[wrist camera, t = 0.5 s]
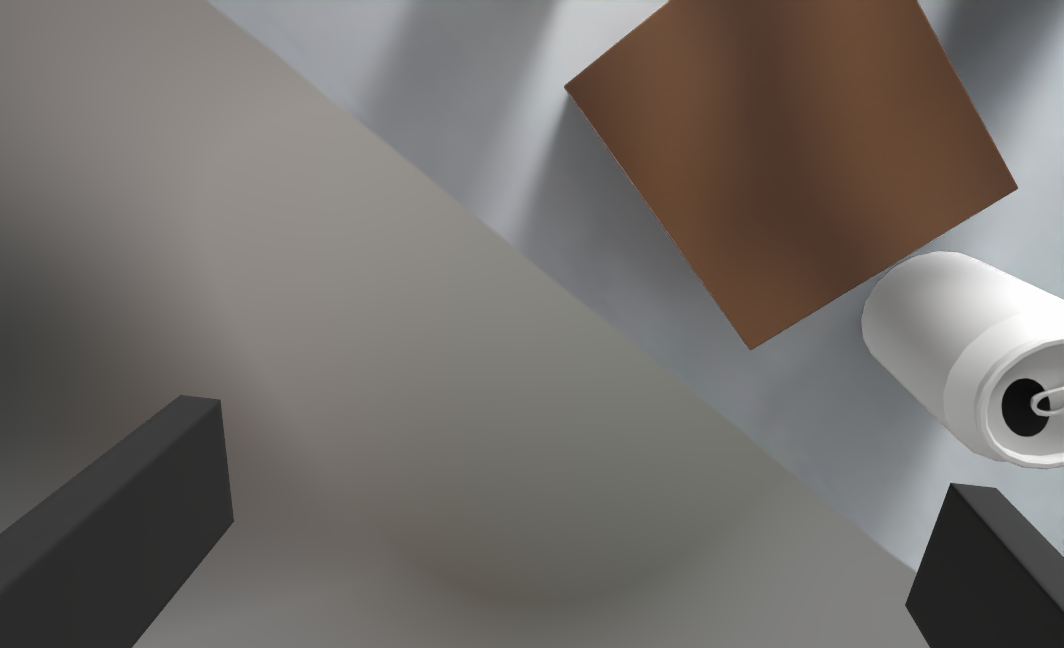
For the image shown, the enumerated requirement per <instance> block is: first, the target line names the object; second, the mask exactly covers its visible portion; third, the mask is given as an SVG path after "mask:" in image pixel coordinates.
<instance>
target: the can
mask: <svg viewBox="0 0 1064 648" xmlns="http://www.w3.org/2000/svg"><path fill="white" fill-rule="evenodd" d="M861 324H862V333H863V339H864V341H865V343H866V345H867V347H868V349H869V350H870V352H871V354H872V355H873V356H874V357H875V358H876V359H877V360H878V361H879V362H880V363H881V364H882V365H883V366H884V367H885V368H886V369H887V370H888V371H889V372H890V373H891V374H892V375H893V376H894V377H895V378H896V379H897V380H898V381H899V382H900V383H901V384H902V385H903V386H904V387H905V388H906V389H907V390H908V391H909V392H910V393H911V394H912V395H913V396H914V397H915V398H916V399H917V400H918V401H919V402H920V403H921V404H922V405H923V406H924V407H925V408H926V409H927V410H928V411H929V412H930V413H931V414H932V415H933V416H934V417H935V418H936V419H937V420H938V421H939V422H940V423H941V424H942V425H943V426H944V427H945V428H946V429H947V430H948V431H949V432H950V433H951V434H952V435H953V436H954V437H956V438H957V439H958V440H959V441H960V442H961V443H963V444H964V445H965V446H966V447H967V448H969V449H970V450H971V451H972V452H974V453H976V454H979V455H982V456H984V457H987V458H990V459H992V460H995V461H1002V462H1010V463H1012V464H1015V465H1018V466H1020V467H1025V468H1038V469H1050V468H1056V467H1062V466H1064V300H1062V299H1060V298H1058V297H1056V296H1054V295H1052V294H1050V293H1047V292H1045V291H1043V290H1041V289H1039V288H1037V287H1035V286H1032V285H1030V284H1028V283H1026V282H1024V281H1022V280H1020V279H1018V278H1015V277H1013V276H1011V275H1009V274H1007V273H1005V272H1003V271H1000V270H998V269H996V268H994V267H992V266H990V265H988V264H985V263H983V262H981V261H979V260H977V259H974V258H972V257H969V256H966V255H964V254H961V253H958V252H941V251H936V252H931V253H927V254H923V255H918V256H914V257H912V258H910V259H908V260H906V261H904V262H903V263H901V264H899V265H897V266H895V267H893V268H892V269H891V270H890V271H889V272H888V273H887V274H886V275H885V276H884V277H882V278H881V279H880V280H879V281H878V282H877V283H876V285H875V286H874V288H873V290H872V291H871V293H870V295H869V296H868V298H867V300H866V301H865V306H864V310H863V314H862V319H861Z"/></svg>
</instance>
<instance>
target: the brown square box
mask: <svg viewBox="0 0 1064 648" xmlns="http://www.w3.org/2000/svg"><path fill="white" fill-rule="evenodd" d="M564 88H565V90H566V91H567V93H568V94H569V95H570V97H571V98H572V100H573V101H574V102H575V104H576V105H577V107H578V108H579V109H580V111H581V112H582V114H583V115H584V117H585V118H586V119H587V121H588V122H589V124H590V125H591V126H592V128H593V129H594V131H595V132H596V134H597V135H598V136H599V138H600V139H601V141H602V142H603V143H604V145H605V146H606V148H607V149H608V150H609V152H610V153H611V155H612V156H613V158H614V159H615V160H616V162H617V163H618V165H619V166H620V167H621V169H622V170H623V172H624V173H625V174H626V176H627V177H628V179H629V180H630V182H631V183H632V184H633V186H634V187H635V189H636V190H637V191H638V193H639V194H640V196H641V197H642V199H643V200H644V201H645V203H646V204H647V206H648V207H649V208H650V210H651V211H652V213H653V214H654V215H655V217H656V218H657V220H658V221H659V223H660V224H661V225H662V227H663V228H664V230H665V231H666V232H667V234H668V235H669V237H670V238H671V239H672V241H673V242H674V244H675V245H676V247H677V248H678V249H679V251H680V252H681V254H682V255H683V256H684V258H685V259H686V261H687V262H688V264H689V265H690V266H691V268H692V269H693V271H694V272H695V273H696V275H697V276H698V278H699V279H700V280H701V282H702V283H703V285H704V286H705V288H706V289H707V290H708V292H709V293H710V295H711V296H712V297H713V299H714V300H715V302H716V303H717V304H718V306H719V307H720V309H721V310H722V312H723V313H724V314H725V316H726V317H727V319H728V320H729V321H730V323H731V324H732V326H733V327H734V329H735V330H736V331H737V333H738V334H739V336H740V337H741V338H742V340H743V341H744V343H745V344H746V345H747V347H748V348H749V349H750V350H752V349H754V348H755V347H757V346H759V345H760V344H762V343H764V342H765V341H767V340H769V339H770V338H772V337H774V336H775V335H777V334H779V333H780V332H782V331H783V330H785V329H787V328H788V327H790V326H792V325H793V324H795V323H797V322H798V321H800V320H802V319H803V318H805V317H807V316H808V315H810V314H812V313H813V312H815V311H817V310H818V309H820V308H821V307H823V306H825V305H826V304H828V303H830V302H831V301H833V300H835V299H836V298H838V297H840V296H841V295H843V294H845V293H846V292H848V291H850V290H851V289H853V288H855V287H856V286H858V285H859V284H861V283H863V282H864V281H866V280H868V279H869V278H871V277H873V276H874V275H876V274H878V273H879V272H881V271H883V270H884V269H886V268H888V267H889V266H891V265H893V264H894V263H896V262H897V261H899V260H901V259H902V258H904V257H906V256H907V255H909V254H911V253H912V252H914V251H916V250H917V249H919V248H921V247H922V246H924V245H926V244H927V243H929V242H931V241H932V240H934V239H935V238H937V237H939V236H940V235H942V234H944V233H945V232H947V231H949V230H950V229H952V228H954V227H955V226H957V225H959V224H960V223H962V222H964V221H965V220H967V219H969V218H970V217H972V216H974V215H975V214H977V213H978V212H980V211H982V210H983V209H985V208H987V207H988V206H990V205H992V204H993V203H995V202H997V201H998V200H1000V199H1002V198H1003V197H1005V196H1007V195H1008V194H1010V193H1012V192H1013V191H1015V190H1016V189H1018V186H1017V184H1016V183H1015V181H1014V179H1013V177H1012V175H1011V173H1010V172H1009V170H1008V168H1007V166H1006V164H1005V162H1004V160H1003V159H1002V157H1001V155H1000V153H999V151H998V149H997V147H996V146H995V144H994V142H993V140H992V138H991V136H990V134H989V133H988V131H987V129H986V127H985V125H984V123H983V122H982V120H981V118H980V116H979V114H978V112H977V110H976V109H975V107H974V105H973V103H972V101H971V99H970V97H969V96H968V94H967V92H966V90H965V88H964V86H963V84H962V83H961V81H960V79H959V77H958V75H957V73H956V72H955V70H954V68H953V66H952V64H951V62H950V60H949V59H948V57H947V55H946V53H945V51H944V49H943V47H942V46H941V44H940V42H939V40H938V38H937V36H936V34H935V33H934V31H933V29H932V27H931V25H930V23H929V21H928V20H927V18H926V16H925V14H924V12H923V10H922V9H921V7H920V5H919V3H918V1H917V0H669V1H668V2H667V3H666V4H665V5H663V6H662V7H661V8H660V9H658V10H657V11H656V12H655V13H653V14H652V15H651V16H650V17H649V18H647V19H646V20H645V21H644V22H642V23H641V24H640V25H639V26H637V27H636V28H635V29H634V30H632V31H631V32H630V33H629V34H628V35H626V36H625V37H624V38H623V39H621V40H620V41H619V42H618V43H616V44H615V45H614V46H613V47H611V48H610V49H609V50H608V51H607V52H605V53H604V54H603V55H602V56H600V57H599V58H598V59H597V60H595V61H594V62H593V63H592V64H591V65H589V66H588V67H587V68H586V69H584V70H583V71H582V72H581V73H579V74H578V75H577V76H576V77H574V78H573V79H572V80H571V81H570V82H568V83H567V84H566V85H565V86H564Z"/></svg>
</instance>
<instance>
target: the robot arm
mask: <svg viewBox="0 0 1064 648" xmlns="http://www.w3.org/2000/svg"><path fill="white" fill-rule="evenodd" d="M233 522H234V519H233V510H232V501H231V492H230V484H229V474H228V465H227V457H226V447H225V438H224V430H223V420H222V411H221V403H220V400H217V399H210V398H201V397H192V396H183V395H180V396H179V397H177V398H176V399H175V400H173V401H172V402H171V403H170V404H168V405H167V406H166V407H165V408H163V409H162V410H161V411H160V412H158V413H157V414H155V415H154V416H153V417H151V418H150V419H149V420H147V421H146V422H145V423H144V424H142V425H141V426H140V427H138V428H137V429H136V430H135V431H133V432H132V433H131V434H129V435H128V436H127V437H125V438H124V439H123V440H121V441H120V442H119V443H118V444H116V445H115V446H114V447H112V448H111V449H110V450H108V451H107V452H106V453H105V454H103V455H102V456H101V457H99V458H98V459H97V460H96V461H94V462H93V463H92V464H91V465H89V466H88V467H86V468H85V469H84V470H83V471H81V472H80V473H79V474H77V475H76V476H75V477H73V478H72V479H71V480H70V481H68V482H67V483H66V484H65V485H63V486H62V487H60V488H59V489H58V490H57V491H55V492H54V493H53V494H51V495H50V496H49V497H47V498H46V499H45V500H44V501H42V502H41V503H40V504H38V505H37V506H36V507H35V508H33V509H32V510H31V511H29V512H28V513H27V514H25V515H24V516H23V517H21V518H20V519H19V520H18V521H16V522H15V523H14V524H12V525H11V526H10V527H8V528H7V529H6V530H5V531H3V532H2V533H1V534H0V648H132V647H133V645H134V644H135V643H136V642H137V641H138V639H139V638H140V637H141V635H142V634H143V633H144V632H145V631H146V629H147V628H148V627H149V626H150V624H151V623H152V622H153V621H154V619H155V618H156V617H157V616H158V615H159V613H160V612H161V611H162V610H163V608H164V607H165V606H166V605H167V603H168V602H169V601H170V600H171V599H172V597H173V596H174V595H175V594H176V592H177V591H178V590H179V589H180V587H181V586H182V585H183V584H184V583H185V581H186V580H187V579H188V578H189V576H190V575H191V574H192V573H193V571H194V570H195V569H196V568H197V566H198V565H199V564H200V563H201V561H202V560H203V559H204V558H205V557H206V555H207V554H208V553H209V552H210V550H211V549H212V548H213V546H214V545H215V544H216V543H217V542H218V540H219V539H220V538H221V537H222V535H223V534H224V533H225V532H226V531H227V529H228V528H229V527H230V526H231V524H232V523H233ZM905 606H906V607H907V609H908V611H909V613H910V614H911V616H912V618H913V620H914V621H915V623H916V625H917V626H918V628H919V630H920V631H921V633H922V635H923V636H924V638H925V640H926V641H927V643H928V645H929V647H930V648H1064V557H1063V556H1062V555H1061V554H1060V553H1059V552H1058V551H1057V550H1056V549H1055V548H1054V547H1053V546H1052V545H1051V544H1050V543H1049V542H1048V541H1047V540H1046V539H1045V538H1044V537H1043V536H1042V535H1041V534H1040V532H1039V531H1038V530H1037V529H1036V528H1035V527H1034V526H1033V525H1032V524H1031V523H1030V522H1029V521H1028V520H1027V519H1026V518H1025V517H1024V516H1023V515H1022V514H1021V513H1020V512H1019V511H1018V510H1017V509H1016V508H1015V507H1014V506H1013V505H1012V504H1011V503H1010V502H1009V501H1008V500H1007V499H1006V498H1005V497H1004V496H1003V495H1002V494H1001V493H1000V492H999V491H998V490H997V489H996V488H991V487H982V486H973V485H964V484H956V483H950V486H949V488H948V491H947V494H946V497H945V499H944V502H943V505H942V507H941V510H940V513H939V515H938V518H937V521H936V523H935V526H934V529H933V532H932V534H931V537H930V540H929V542H928V545H927V548H926V550H925V553H924V556H923V558H922V561H921V564H920V567H919V569H918V572H917V575H916V577H915V580H914V583H913V585H912V588H911V591H910V593H909V596H908V599H907V602H906V604H905Z"/></svg>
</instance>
